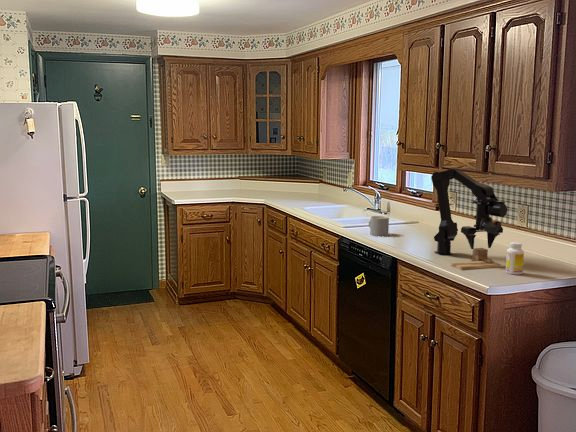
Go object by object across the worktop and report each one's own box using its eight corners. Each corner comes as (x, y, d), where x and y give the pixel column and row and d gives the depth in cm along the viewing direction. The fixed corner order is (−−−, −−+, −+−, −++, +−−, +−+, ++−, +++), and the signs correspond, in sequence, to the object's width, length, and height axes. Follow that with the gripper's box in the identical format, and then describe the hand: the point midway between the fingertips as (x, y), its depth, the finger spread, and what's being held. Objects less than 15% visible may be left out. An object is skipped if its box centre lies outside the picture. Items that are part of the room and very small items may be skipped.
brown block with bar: (472, 261, 269) (472, 248, 268) (481, 260, 271) (482, 247, 270) (486, 266, 260) (487, 253, 259) (495, 265, 261) (496, 252, 261)
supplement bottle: (524, 273, 249) (527, 243, 247) (518, 275, 244) (521, 245, 242) (509, 270, 253) (511, 240, 251) (502, 273, 248) (504, 242, 246)
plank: (450, 265, 260) (450, 262, 260) (488, 262, 267) (488, 260, 267) (461, 269, 253) (461, 266, 253) (500, 266, 259) (500, 264, 259)
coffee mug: (391, 236, 328) (392, 218, 327) (375, 237, 325) (376, 218, 323) (379, 231, 340) (380, 214, 339) (364, 232, 337) (364, 215, 335)
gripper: (476, 217, 254) (474, 253, 256) (512, 216, 260) (510, 251, 263) (461, 214, 264) (459, 248, 267) (495, 212, 271) (493, 246, 273)
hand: (480, 248), depth 267 cm, fingers open, 9 cm apart
